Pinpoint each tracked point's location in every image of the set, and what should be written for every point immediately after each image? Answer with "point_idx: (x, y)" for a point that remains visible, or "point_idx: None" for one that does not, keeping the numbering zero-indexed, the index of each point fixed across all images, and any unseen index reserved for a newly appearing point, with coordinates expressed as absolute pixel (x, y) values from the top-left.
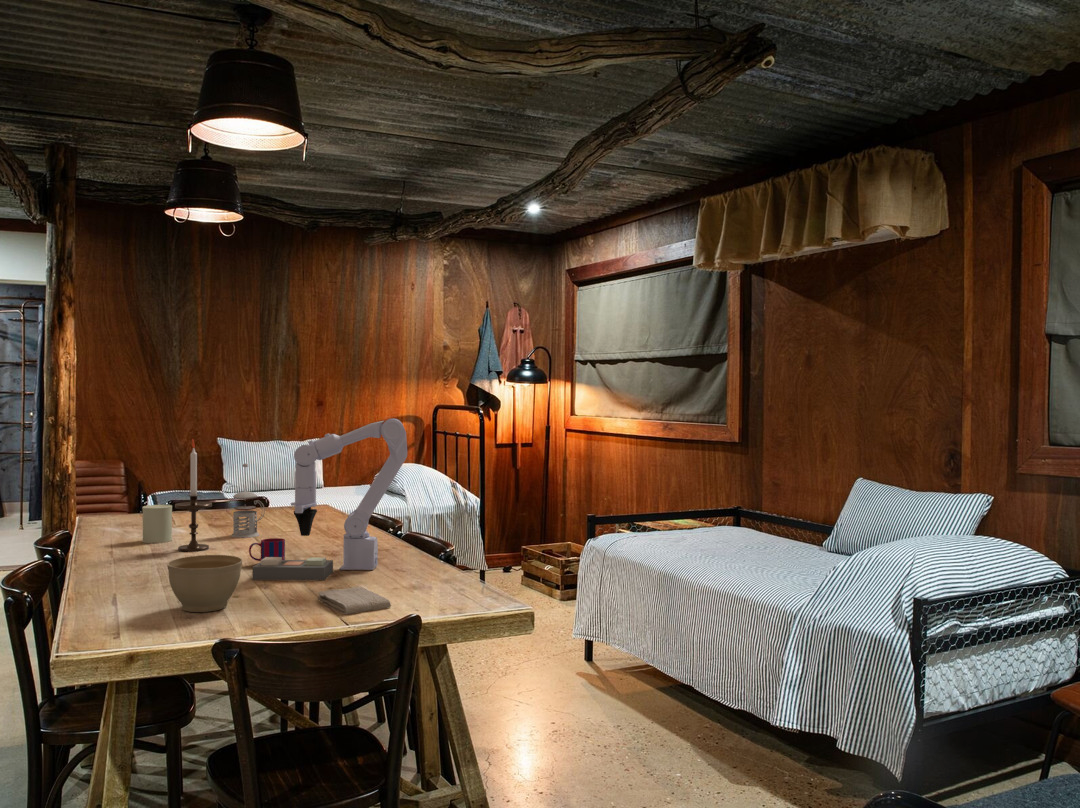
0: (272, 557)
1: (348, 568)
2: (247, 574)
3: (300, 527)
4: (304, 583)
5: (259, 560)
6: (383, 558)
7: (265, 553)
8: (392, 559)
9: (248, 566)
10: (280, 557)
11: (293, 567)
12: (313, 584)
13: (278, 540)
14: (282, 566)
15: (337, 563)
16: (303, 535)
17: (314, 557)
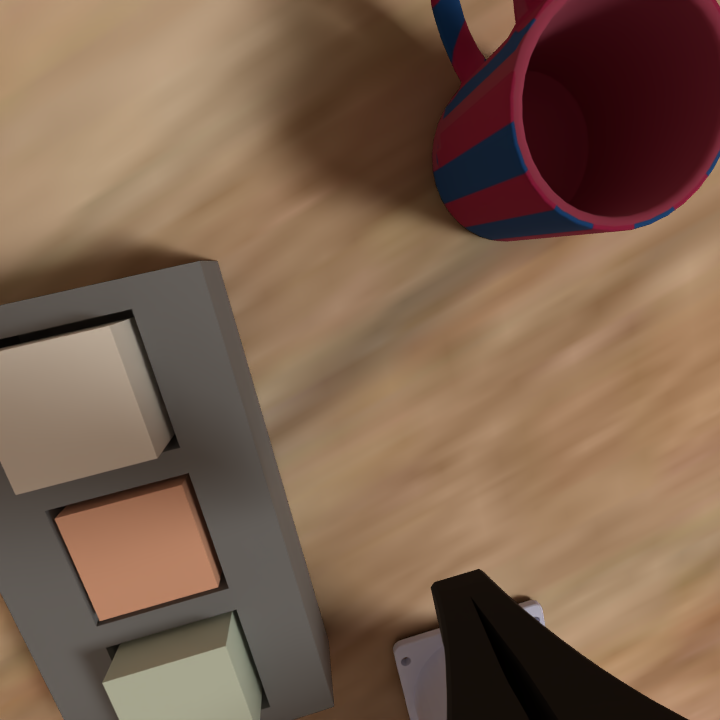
0: (116, 391)
1: (403, 687)
2: (110, 180)
3: (450, 667)
4: (13, 655)
5: (455, 71)
6: (710, 671)
7: (462, 116)
8: (690, 716)
9: (372, 28)
10: (142, 453)
11: (15, 621)
12: (11, 706)
13: (705, 117)
14: (10, 537)
15: (565, 538)
16: (435, 607)
17: (233, 674)
